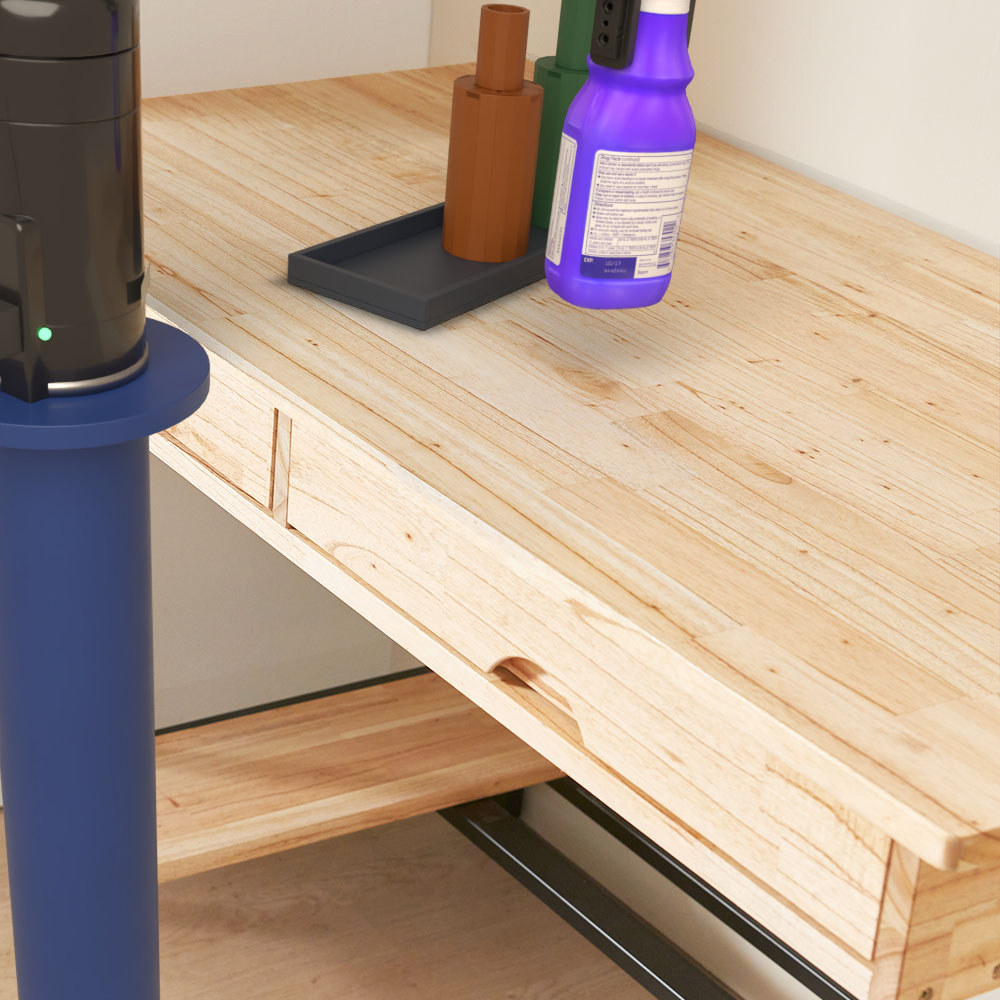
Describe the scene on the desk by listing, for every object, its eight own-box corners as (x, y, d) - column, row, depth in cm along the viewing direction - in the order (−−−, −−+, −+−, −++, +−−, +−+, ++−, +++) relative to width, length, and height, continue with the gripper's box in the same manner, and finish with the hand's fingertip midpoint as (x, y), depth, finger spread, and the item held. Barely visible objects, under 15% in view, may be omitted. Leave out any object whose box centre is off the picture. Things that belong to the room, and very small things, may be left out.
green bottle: (571, 243, 113) (599, 5, 105) (504, 223, 116) (526, -10, 108) (613, 226, 118) (642, -3, 110) (547, 207, 120) (571, -18, 112)
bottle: (635, 277, 91) (682, -28, 83) (685, 312, 87) (739, -7, 79) (526, 283, 88) (564, -32, 80) (572, 320, 84) (616, -11, 76)
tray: (423, 331, 96) (425, 300, 95) (286, 282, 101) (287, 253, 100) (652, 230, 118) (656, 205, 117) (531, 195, 123) (533, 170, 122)
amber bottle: (494, 275, 106) (518, 22, 98) (424, 253, 108) (442, 5, 100) (542, 256, 110) (568, 12, 102) (473, 235, 113) (494, -5, 105)
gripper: (691, -300, 81) (644, 30, 89) (542, -317, 70) (504, 60, 78) (822, -285, 77) (761, 57, 85) (687, -301, 66) (632, 93, 74)
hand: (639, 57), depth 81 cm, fingers closed on bottle, 5 cm apart
